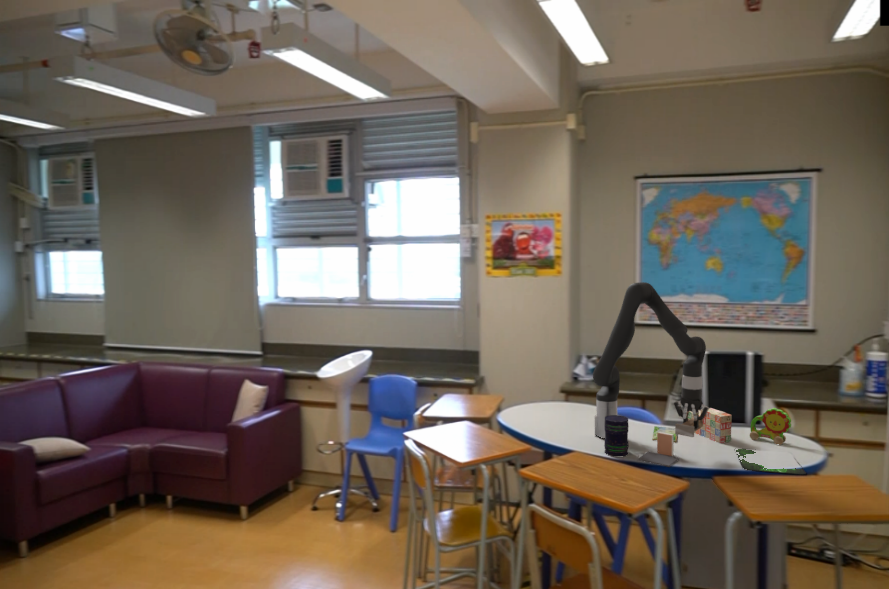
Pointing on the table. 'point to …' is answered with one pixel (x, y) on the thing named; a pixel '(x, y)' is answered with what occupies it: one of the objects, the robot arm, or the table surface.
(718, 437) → the stack of blocks
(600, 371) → the robot arm
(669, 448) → the tile
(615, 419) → the storage jar
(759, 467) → the mouse mat
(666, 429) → the green number board
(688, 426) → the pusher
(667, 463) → the mat
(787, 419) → the toy lion
